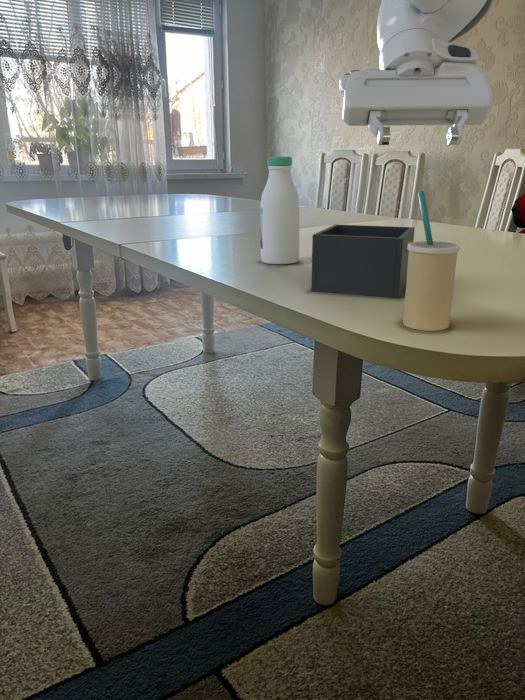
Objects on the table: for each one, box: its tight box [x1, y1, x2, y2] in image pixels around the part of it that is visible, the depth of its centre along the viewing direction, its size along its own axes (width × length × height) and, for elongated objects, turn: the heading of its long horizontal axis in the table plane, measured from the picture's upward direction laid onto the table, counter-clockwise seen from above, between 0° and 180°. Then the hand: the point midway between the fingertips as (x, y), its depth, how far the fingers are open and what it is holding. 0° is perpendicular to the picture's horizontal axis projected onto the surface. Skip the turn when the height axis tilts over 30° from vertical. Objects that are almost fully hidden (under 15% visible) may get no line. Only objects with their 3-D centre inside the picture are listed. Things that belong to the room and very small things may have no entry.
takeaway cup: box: [402, 190, 461, 332], centre depth 66 cm, size 6×6×16 cm
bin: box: [310, 223, 416, 299], centre depth 88 cm, size 14×14×9 cm
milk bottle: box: [259, 156, 300, 265], centre depth 106 cm, size 8×8×20 cm
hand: (419, 141), depth 73 cm, fingers open, 8 cm apart
